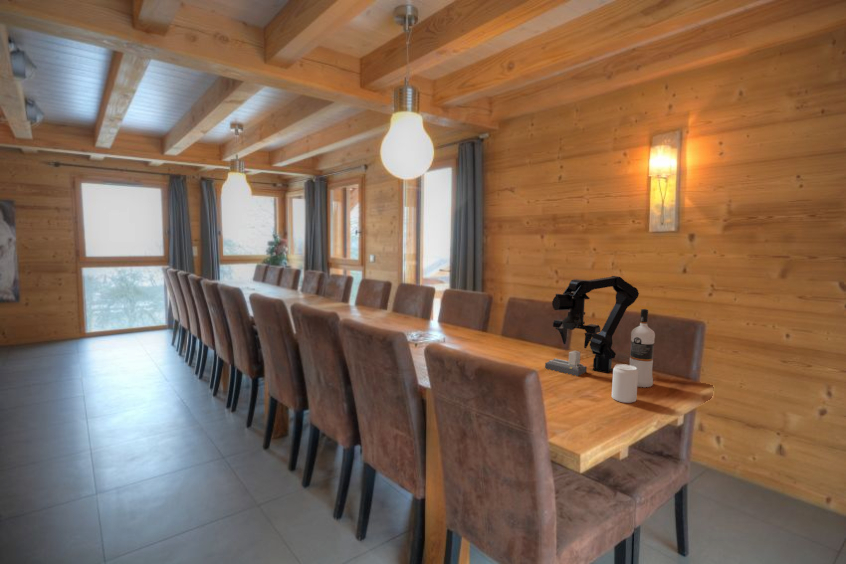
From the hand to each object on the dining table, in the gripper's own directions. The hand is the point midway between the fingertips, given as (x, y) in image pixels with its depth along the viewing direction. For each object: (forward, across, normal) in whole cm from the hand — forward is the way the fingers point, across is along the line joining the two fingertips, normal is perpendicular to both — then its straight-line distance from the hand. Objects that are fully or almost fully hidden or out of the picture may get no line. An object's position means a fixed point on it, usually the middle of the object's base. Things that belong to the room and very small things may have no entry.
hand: (574, 346), depth 190 cm
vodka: (+12, +25, +5) cm, 28 cm away
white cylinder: (+12, +27, -17) cm, 34 cm away
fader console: (+11, -4, 0) cm, 12 cm away
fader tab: (+9, 0, 0) cm, 9 cm away
